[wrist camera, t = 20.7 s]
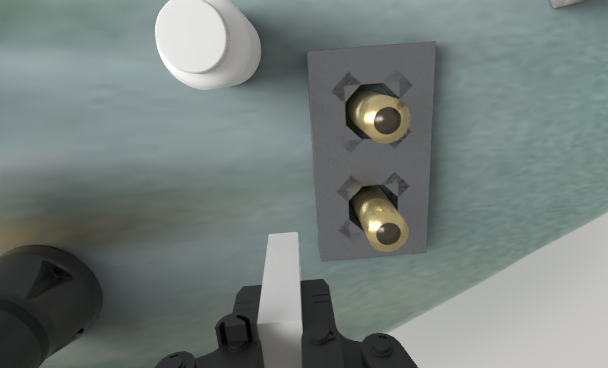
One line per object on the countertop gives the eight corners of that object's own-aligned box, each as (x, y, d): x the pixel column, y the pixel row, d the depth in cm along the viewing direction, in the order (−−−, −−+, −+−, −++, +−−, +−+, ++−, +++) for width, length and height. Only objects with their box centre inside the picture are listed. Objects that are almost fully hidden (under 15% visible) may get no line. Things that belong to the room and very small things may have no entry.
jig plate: (319, 250, 48) (321, 261, 45) (305, 52, 39) (307, 51, 37) (418, 241, 48) (426, 252, 45) (425, 43, 40) (436, 41, 37)
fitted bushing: (352, 215, 46) (368, 254, 37) (351, 185, 45) (367, 216, 35) (384, 213, 46) (408, 250, 37) (384, 182, 45) (409, 213, 35)
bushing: (348, 128, 42) (364, 145, 33) (347, 91, 41) (364, 98, 31) (383, 125, 42) (409, 142, 33) (383, 89, 41) (411, 95, 31)
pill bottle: (243, -2, 37) (214, -46, 23) (273, 69, 40) (263, 69, 26) (179, 28, 38) (112, 3, 24) (212, 96, 41) (170, 110, 26)
